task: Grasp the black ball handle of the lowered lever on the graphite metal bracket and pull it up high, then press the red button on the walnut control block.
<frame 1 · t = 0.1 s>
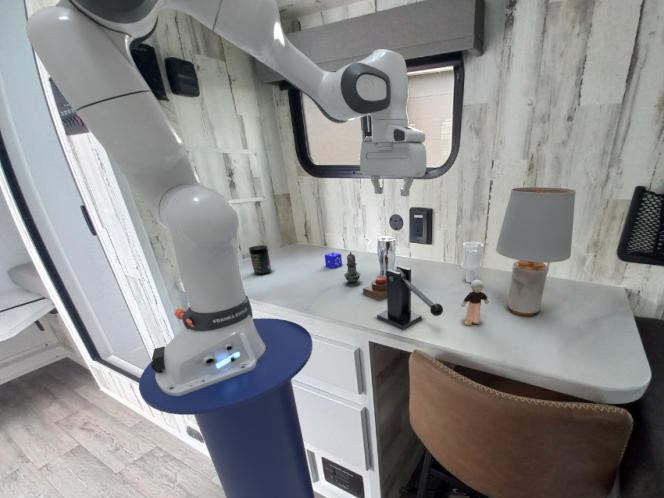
hand: (391, 194, 80), 33 cm above the table, tool pointing down, fingers open, 8 cm apart
grandmother figurine: (473, 322, 85), on the table
salt shaker: (353, 284, 112), on the table
control block: (382, 292, 105), on the table
lamp: (521, 310, 92), on the table
beer glass: (387, 277, 118), on the table
die: (334, 266, 131), on the table
lever: (417, 292, 79), point 10 cm above the table, hinge at -25.0°
button: (381, 280, 103), point 4 cm above the table, slide at 0.1 cm
supplement container: (263, 273, 124), on the table
bracket: (399, 318, 87), on the table
clear tall cylinder: (469, 281, 114), on the table
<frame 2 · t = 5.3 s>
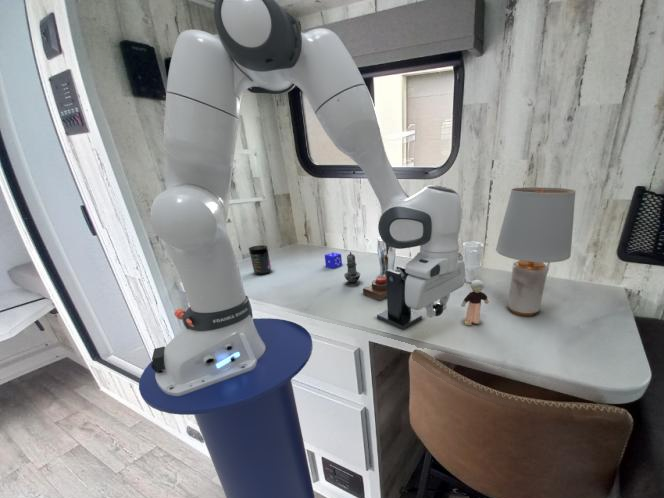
hand: (436, 312, 77), 6 cm above the table, tool pointing down, fingers closed on lever, 3 cm apart
lever: (417, 292, 79), point 10 cm above the table, hinge at -25.0°, touching gripper
everything else where it was.
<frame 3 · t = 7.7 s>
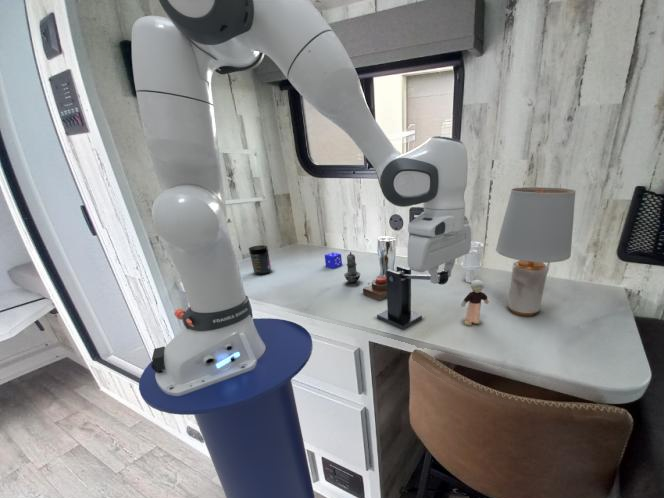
hand: (440, 279, 73), 15 cm above the table, tool pointing down, fingers closed on lever, 3 cm apart
lever: (419, 276, 77), point 14 cm above the table, hinge at 11.8°, touching gripper
everything else where it was.
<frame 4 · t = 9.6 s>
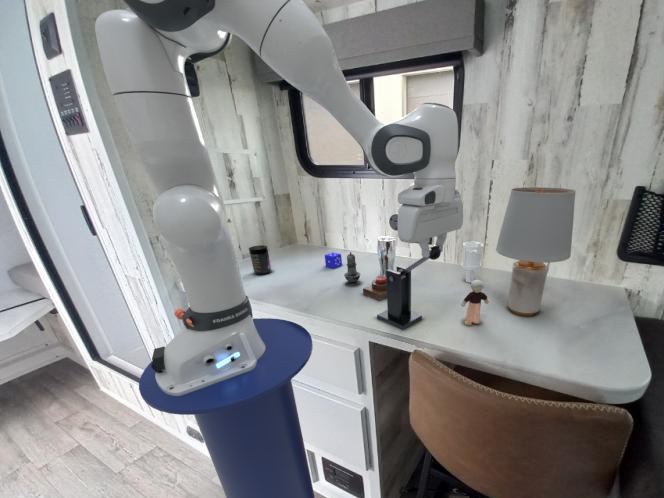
hand: (432, 254, 72), 21 cm above the table, tool pointing down, fingers closed on lever, 3 cm apart
lever: (415, 265, 77), point 17 cm above the table, hinge at 37.1°, touching gripper
everything else where it was.
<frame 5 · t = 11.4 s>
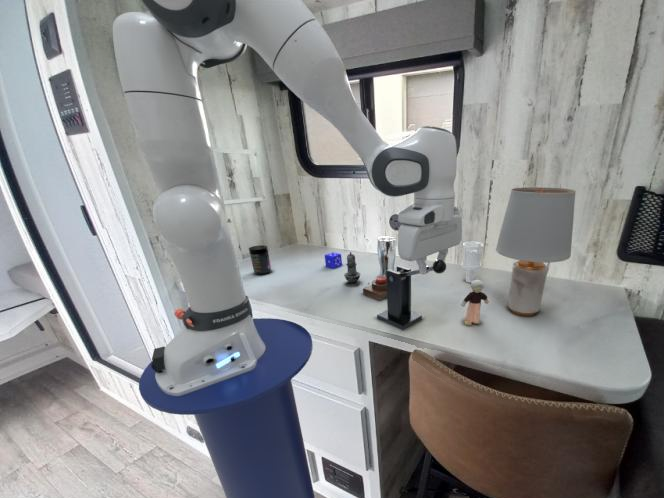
hand: (431, 270, 74), 17 cm above the table, tool pointing down, fingers open, 5 cm apart
lever: (418, 271, 77), point 16 cm above the table, hinge at 22.9°
everything else where it was.
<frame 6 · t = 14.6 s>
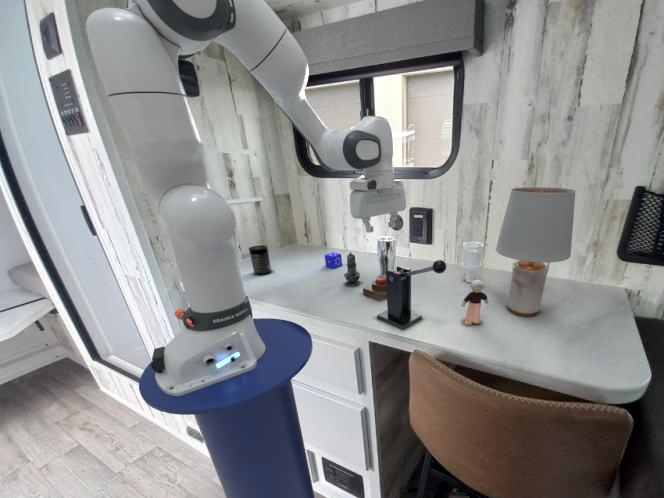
hand: (381, 229, 95), 22 cm above the table, tool pointing down, fingers open, 8 cm apart
nothing on the table moved.
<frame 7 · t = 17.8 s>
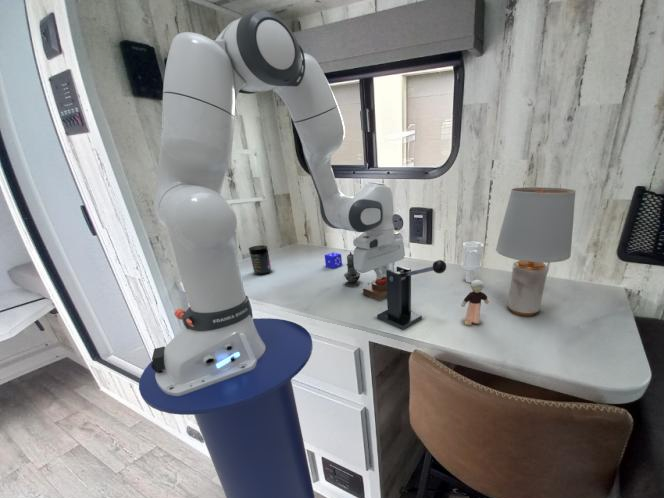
hand: (381, 278, 102), 5 cm above the table, tool pointing down, fingers closed, pressing on button
button: (381, 280, 103), point 4 cm above the table, slide at 0.0 cm, touching gripper
everything else where it was.
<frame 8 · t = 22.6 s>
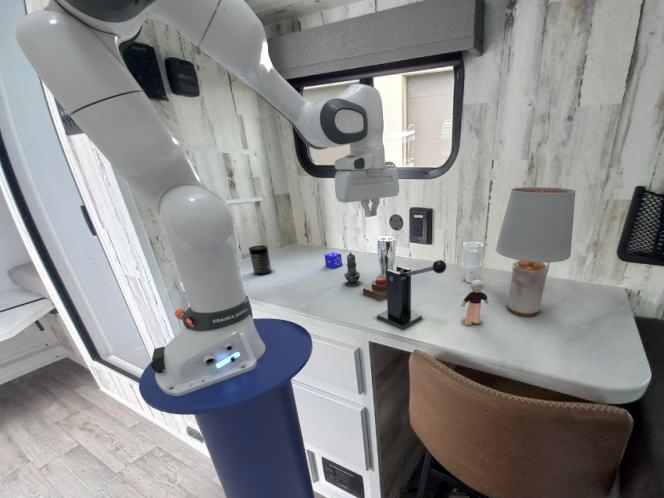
hand: (370, 216, 85), 27 cm above the table, tool pointing down, fingers closed
button: (381, 280, 103), point 4 cm above the table, slide at 0.1 cm
everything else where it was.
at the end: lever at +23° (first picture: -25°); button pushed in 1.1 cm at the most during the clip, back to where it started at the end; button slide at 0.1 cm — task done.
